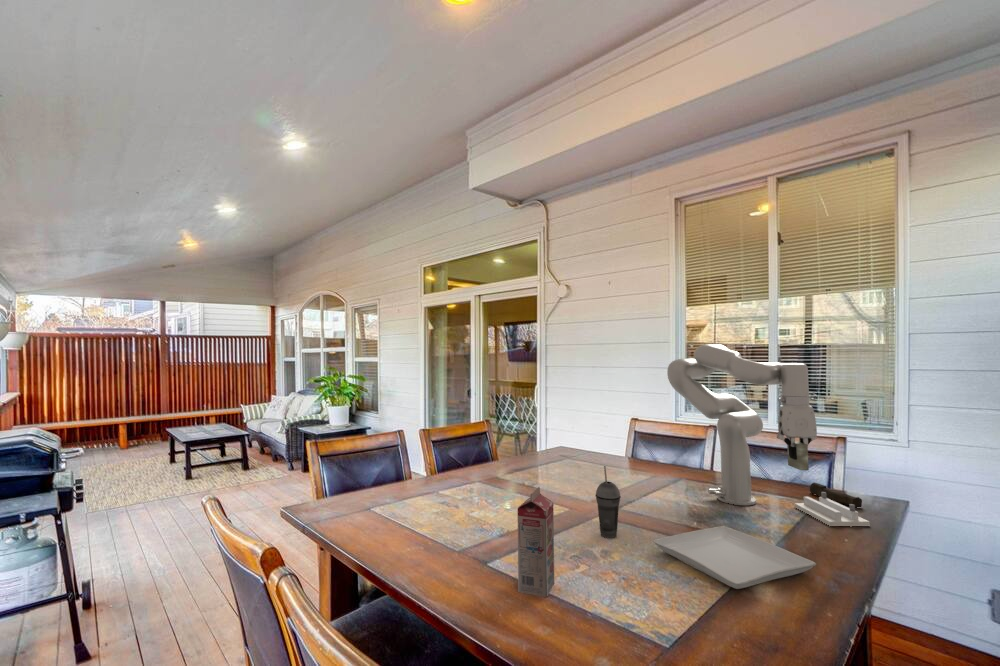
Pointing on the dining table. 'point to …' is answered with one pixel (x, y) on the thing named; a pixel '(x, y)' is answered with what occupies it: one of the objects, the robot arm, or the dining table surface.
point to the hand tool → (835, 495)
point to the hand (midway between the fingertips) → (797, 458)
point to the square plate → (733, 556)
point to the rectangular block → (799, 457)
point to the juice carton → (536, 545)
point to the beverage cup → (608, 508)
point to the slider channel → (831, 512)
